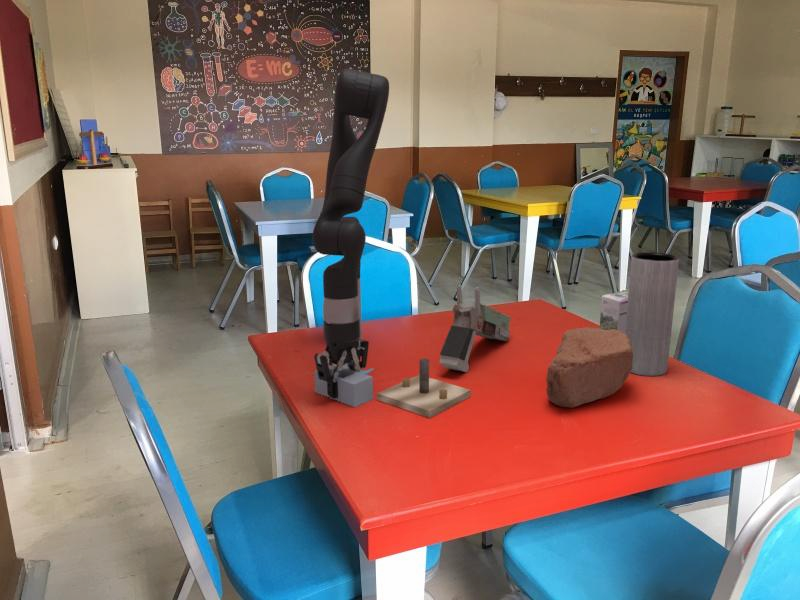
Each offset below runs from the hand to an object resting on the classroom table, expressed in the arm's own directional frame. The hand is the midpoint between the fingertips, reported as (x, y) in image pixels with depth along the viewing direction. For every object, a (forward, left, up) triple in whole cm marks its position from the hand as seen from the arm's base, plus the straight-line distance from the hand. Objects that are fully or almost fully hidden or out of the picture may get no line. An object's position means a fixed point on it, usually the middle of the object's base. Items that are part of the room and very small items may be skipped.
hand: (343, 392), depth 139 cm
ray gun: (+7, +39, -1) cm, 40 cm away
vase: (+43, +57, -1) cm, 71 cm away
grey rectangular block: (0, 0, -1) cm, 1 cm away
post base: (+14, +10, -1) cm, 17 cm away
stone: (+39, +33, -1) cm, 51 cm away
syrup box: (+32, +65, -1) cm, 73 cm away
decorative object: (-10, +10, -1) cm, 14 cm away
